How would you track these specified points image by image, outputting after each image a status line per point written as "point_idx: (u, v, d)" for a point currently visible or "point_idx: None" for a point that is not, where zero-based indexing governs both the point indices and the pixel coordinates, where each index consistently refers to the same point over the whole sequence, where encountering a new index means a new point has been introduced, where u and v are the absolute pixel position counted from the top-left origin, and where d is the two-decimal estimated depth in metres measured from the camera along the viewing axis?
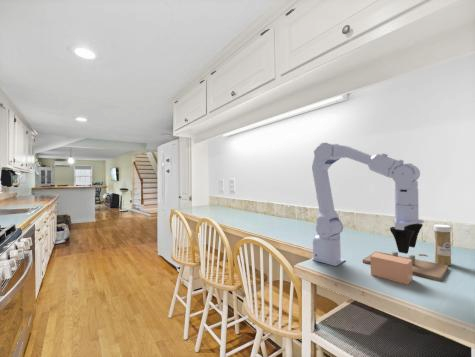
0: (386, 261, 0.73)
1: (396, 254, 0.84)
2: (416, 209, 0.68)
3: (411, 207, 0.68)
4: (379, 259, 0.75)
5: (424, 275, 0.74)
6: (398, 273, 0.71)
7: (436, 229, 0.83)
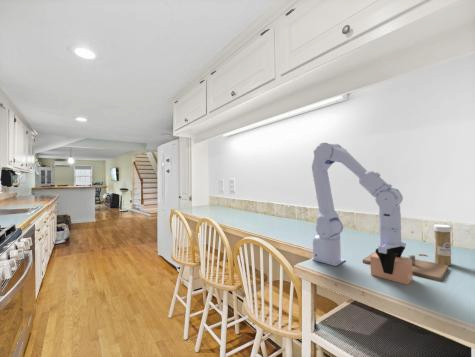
0: None
1: None
2: (399, 233, 0.72)
3: (394, 231, 0.72)
4: (379, 259, 0.75)
5: (424, 275, 0.74)
6: (398, 273, 0.71)
7: (436, 229, 0.83)
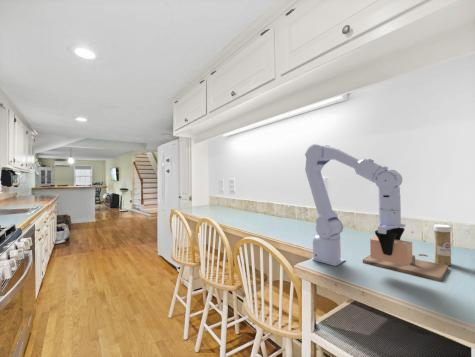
0: None
1: None
2: (398, 214, 0.72)
3: (393, 212, 0.72)
4: (379, 242, 0.75)
5: (424, 275, 0.74)
6: (398, 255, 0.71)
7: (436, 229, 0.83)
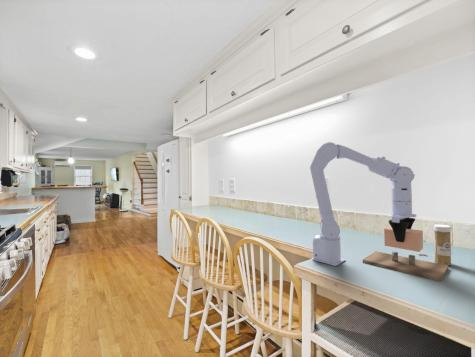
0: None
1: (396, 254, 0.84)
2: (410, 205, 0.80)
3: (405, 203, 0.80)
4: (392, 231, 0.83)
5: (424, 275, 0.74)
6: (410, 242, 0.79)
7: (436, 229, 0.83)
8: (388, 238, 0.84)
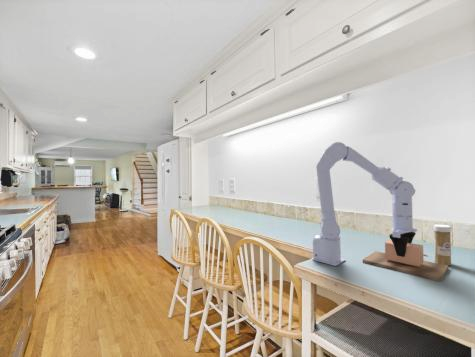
0: None
1: None
2: (410, 219, 0.80)
3: (406, 218, 0.80)
4: (393, 245, 0.83)
5: (424, 275, 0.74)
6: (411, 257, 0.79)
7: (436, 229, 0.83)
8: (389, 252, 0.84)
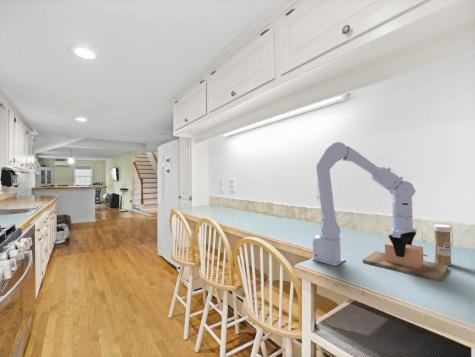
0: None
1: None
2: (410, 219, 0.80)
3: (406, 218, 0.80)
4: (393, 247, 0.83)
5: (424, 275, 0.74)
6: (411, 258, 0.79)
7: (436, 229, 0.83)
8: (389, 254, 0.84)
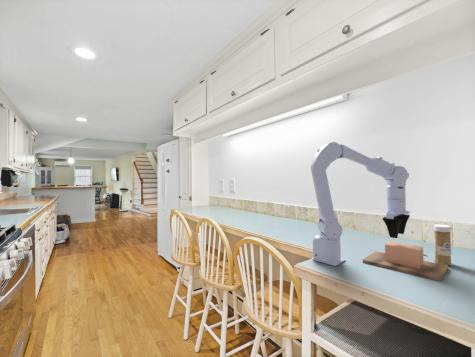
0: (399, 248, 0.82)
1: None
2: (403, 202, 0.85)
3: (399, 201, 0.85)
4: (393, 247, 0.83)
5: (424, 275, 0.74)
6: (411, 258, 0.79)
7: (436, 229, 0.83)
8: (389, 254, 0.84)
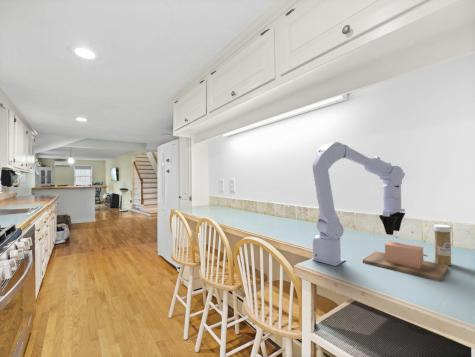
0: (399, 248, 0.82)
1: None
2: (399, 200, 0.89)
3: (395, 199, 0.88)
4: (393, 247, 0.83)
5: (424, 275, 0.74)
6: (411, 258, 0.79)
7: (436, 229, 0.83)
8: (389, 254, 0.84)
